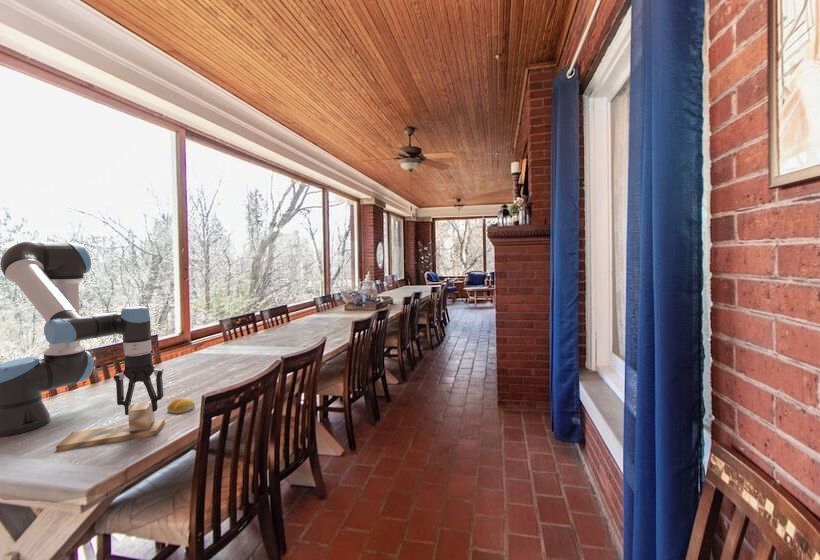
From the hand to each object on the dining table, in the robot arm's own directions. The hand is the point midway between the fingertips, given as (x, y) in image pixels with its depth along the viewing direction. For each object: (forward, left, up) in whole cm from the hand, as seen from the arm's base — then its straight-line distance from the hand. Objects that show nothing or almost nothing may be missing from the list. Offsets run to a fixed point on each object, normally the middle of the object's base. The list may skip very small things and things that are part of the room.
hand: (142, 422), depth 126 cm
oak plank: (-8, 0, -3) cm, 8 cm away
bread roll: (+8, +17, -4) cm, 19 cm away
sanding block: (0, 0, -1) cm, 1 cm away
